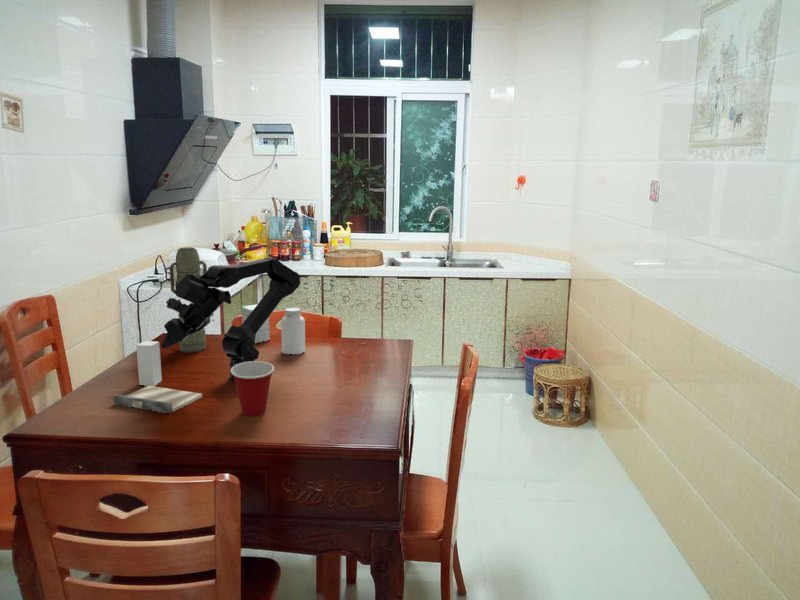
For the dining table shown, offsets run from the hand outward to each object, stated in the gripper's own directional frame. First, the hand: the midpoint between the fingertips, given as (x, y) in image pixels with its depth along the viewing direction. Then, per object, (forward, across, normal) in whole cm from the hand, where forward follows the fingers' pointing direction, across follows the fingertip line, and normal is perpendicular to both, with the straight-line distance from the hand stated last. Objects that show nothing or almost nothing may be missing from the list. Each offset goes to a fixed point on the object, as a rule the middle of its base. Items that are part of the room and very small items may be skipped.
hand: (169, 343), depth 179 cm
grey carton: (+14, 0, +4) cm, 14 cm away
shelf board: (+7, +12, +10) cm, 18 cm away
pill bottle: (-9, -37, +27) cm, 47 cm away
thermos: (+16, -36, +2) cm, 40 cm away
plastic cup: (-12, +18, +30) cm, 37 cm away
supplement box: (+3, -50, +15) cm, 52 cm away
